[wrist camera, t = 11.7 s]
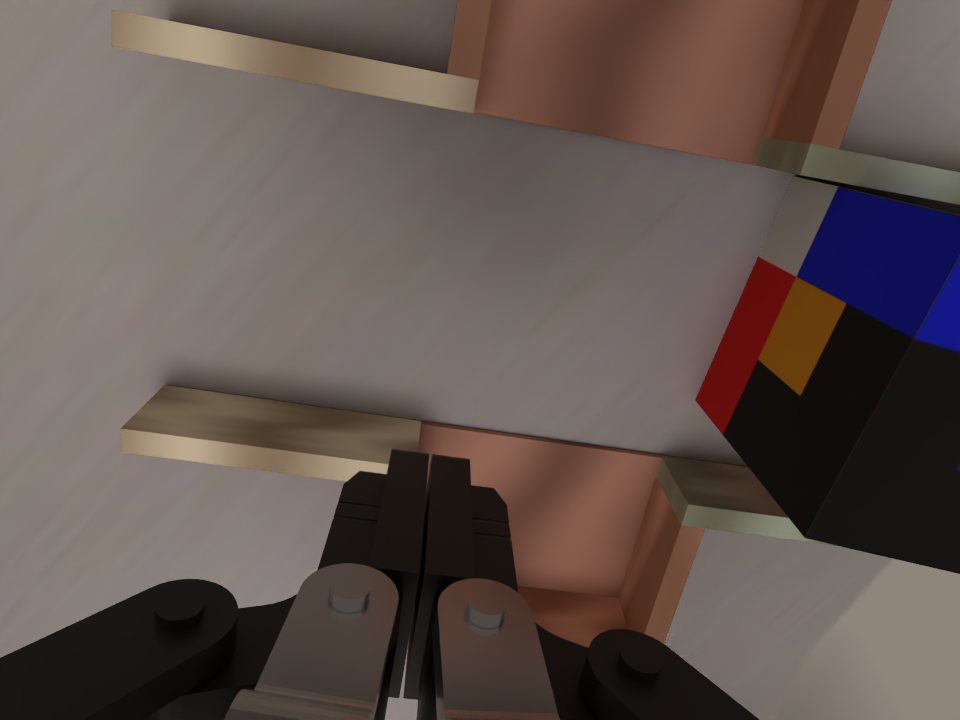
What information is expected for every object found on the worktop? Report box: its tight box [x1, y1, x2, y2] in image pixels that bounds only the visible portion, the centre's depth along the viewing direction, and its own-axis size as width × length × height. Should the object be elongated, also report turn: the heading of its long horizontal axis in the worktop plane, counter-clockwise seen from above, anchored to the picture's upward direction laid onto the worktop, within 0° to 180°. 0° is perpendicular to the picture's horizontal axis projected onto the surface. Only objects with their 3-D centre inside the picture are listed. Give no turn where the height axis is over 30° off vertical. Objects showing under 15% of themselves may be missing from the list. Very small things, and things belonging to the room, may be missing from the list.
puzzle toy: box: [696, 176, 960, 574], centre depth 24 cm, size 10×10×10 cm
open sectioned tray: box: [111, 0, 960, 649], centre depth 26 cm, size 38×31×4 cm
